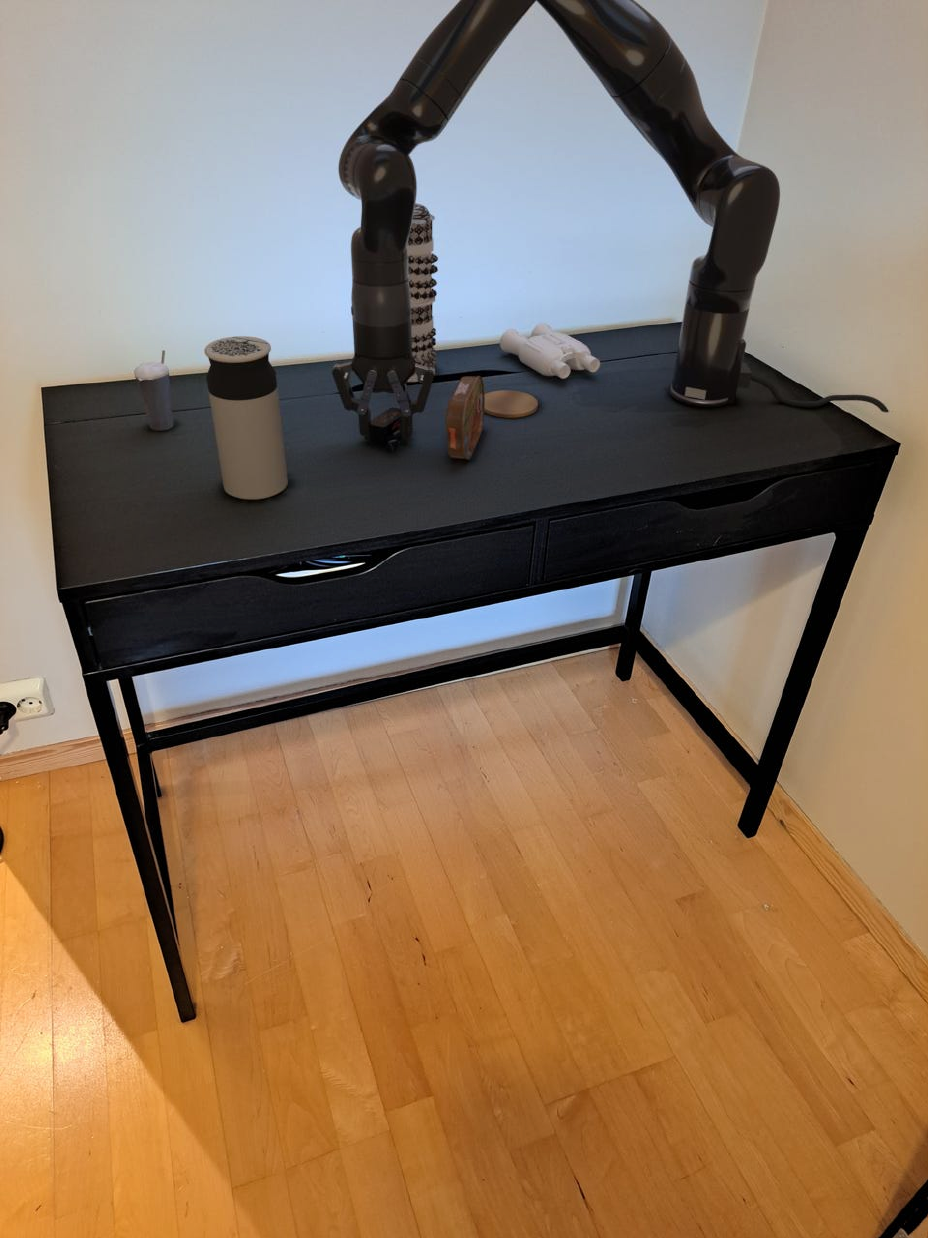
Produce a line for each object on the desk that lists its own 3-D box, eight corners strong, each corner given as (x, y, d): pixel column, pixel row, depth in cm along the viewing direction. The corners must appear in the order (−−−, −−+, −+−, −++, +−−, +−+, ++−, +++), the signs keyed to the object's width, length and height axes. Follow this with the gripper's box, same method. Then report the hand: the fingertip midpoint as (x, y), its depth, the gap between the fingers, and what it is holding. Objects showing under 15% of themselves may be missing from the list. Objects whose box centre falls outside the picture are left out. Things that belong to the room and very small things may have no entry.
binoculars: (548, 345, 157) (550, 318, 154) (604, 376, 146) (608, 347, 143) (498, 354, 153) (499, 327, 150) (551, 387, 142) (554, 358, 139)
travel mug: (258, 508, 109) (238, 364, 99) (210, 490, 113) (186, 349, 102) (301, 482, 115) (287, 343, 104) (254, 466, 118) (236, 330, 108)
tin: (465, 470, 118) (466, 410, 113) (442, 467, 119) (442, 407, 114) (486, 423, 130) (488, 367, 125) (464, 421, 131) (465, 365, 126)
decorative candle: (369, 374, 144) (362, 207, 129) (402, 357, 151) (399, 196, 136) (416, 387, 141) (414, 216, 126) (448, 369, 147) (450, 204, 132)
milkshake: (189, 421, 129) (177, 353, 123) (164, 435, 125) (150, 365, 119) (163, 415, 131) (150, 347, 125) (138, 429, 127) (123, 359, 121)
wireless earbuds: (364, 447, 123) (363, 425, 121) (392, 428, 128) (391, 406, 126) (393, 455, 122) (392, 432, 120) (420, 435, 127) (419, 413, 125)
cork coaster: (537, 394, 139) (537, 390, 139) (538, 418, 132) (539, 414, 132) (479, 392, 139) (479, 388, 139) (477, 416, 132) (477, 412, 132)
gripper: (439, 306, 117) (439, 428, 127) (330, 303, 117) (339, 424, 128) (436, 325, 111) (436, 452, 121) (321, 322, 111) (330, 448, 122)
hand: (386, 437), depth 124 cm, fingers closed on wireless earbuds, 4 cm apart
